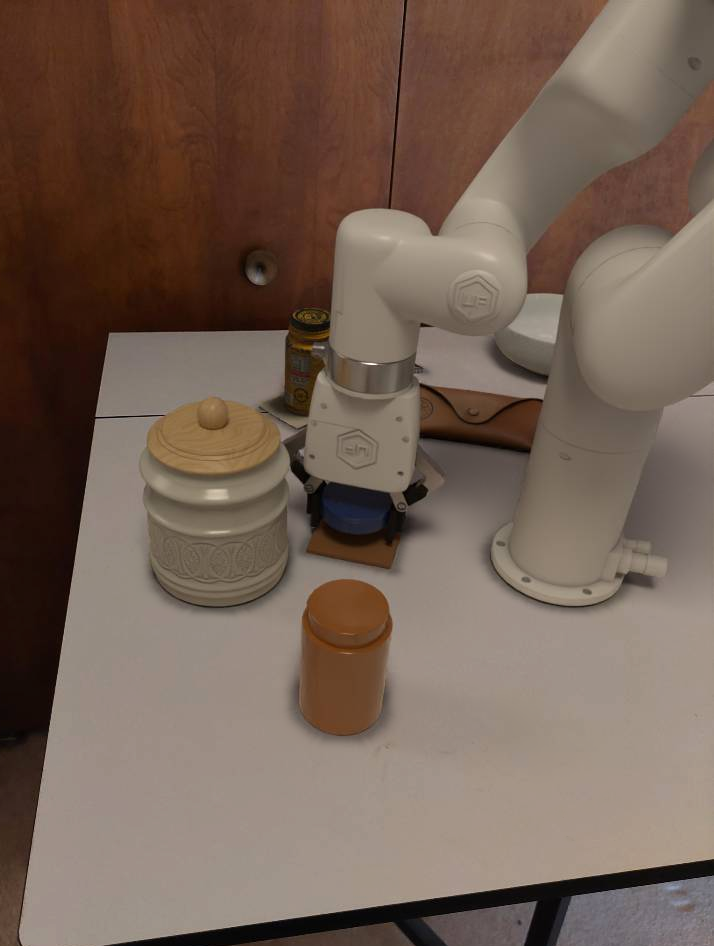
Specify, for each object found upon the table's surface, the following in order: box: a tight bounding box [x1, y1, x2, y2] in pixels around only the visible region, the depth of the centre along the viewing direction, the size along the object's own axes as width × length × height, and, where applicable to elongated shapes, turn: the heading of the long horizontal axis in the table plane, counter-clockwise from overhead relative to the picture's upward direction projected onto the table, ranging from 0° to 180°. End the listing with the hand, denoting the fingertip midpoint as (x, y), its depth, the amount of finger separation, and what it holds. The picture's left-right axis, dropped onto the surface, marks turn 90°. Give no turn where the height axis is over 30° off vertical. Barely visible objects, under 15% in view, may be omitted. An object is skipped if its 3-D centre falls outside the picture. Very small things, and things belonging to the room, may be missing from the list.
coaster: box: [305, 516, 407, 570], centre depth 81 cm, size 8×8×1 cm
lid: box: [320, 481, 393, 534], centre depth 78 cm, size 7×7×2 cm
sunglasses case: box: [419, 382, 544, 452], centre depth 97 cm, size 18×7×7 cm
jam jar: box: [298, 578, 394, 736], centre depth 60 cm, size 7×7×10 cm
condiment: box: [257, 307, 331, 429], centre depth 97 cm, size 7×8×12 cm
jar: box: [138, 396, 291, 607], centre depth 71 cm, size 13×13×18 cm
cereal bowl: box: [493, 292, 564, 377], centre depth 110 cm, size 17×17×7 cm
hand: (354, 526), depth 80 cm, fingers closed on lid, 7 cm apart
